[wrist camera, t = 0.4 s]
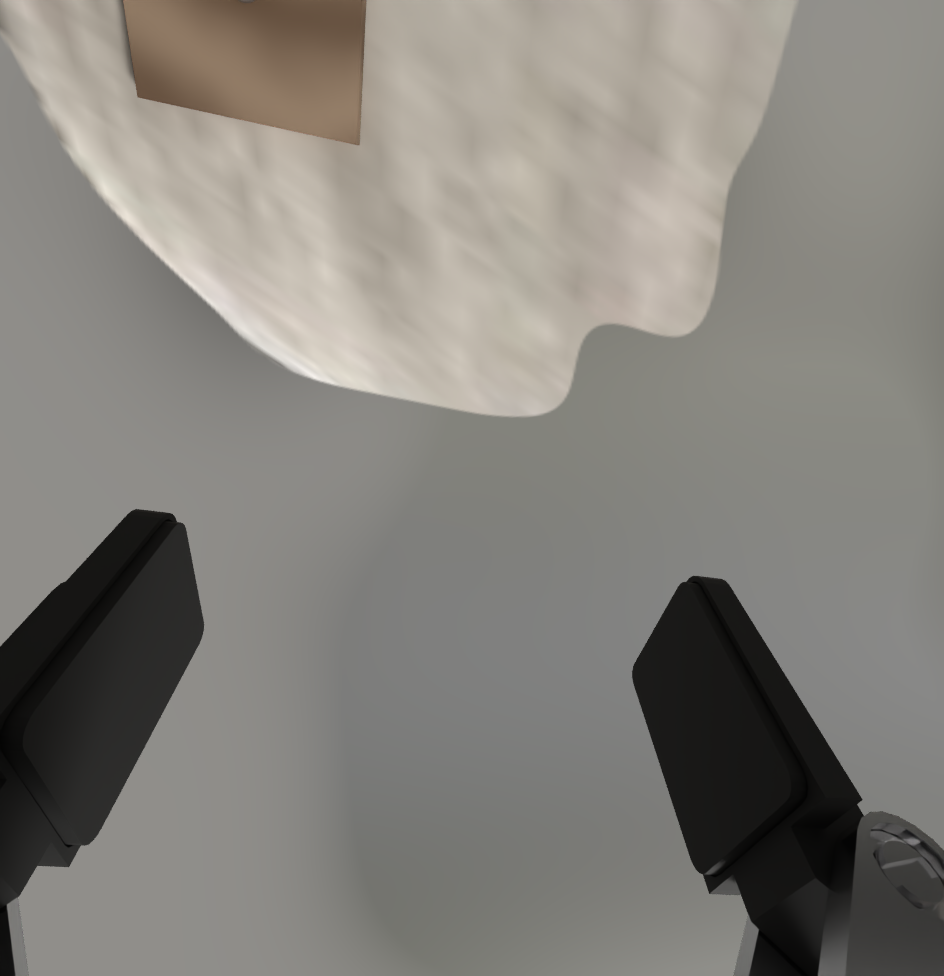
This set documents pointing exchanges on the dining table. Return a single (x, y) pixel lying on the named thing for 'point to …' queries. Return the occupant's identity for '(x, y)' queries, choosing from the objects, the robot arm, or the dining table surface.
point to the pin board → (254, 60)
